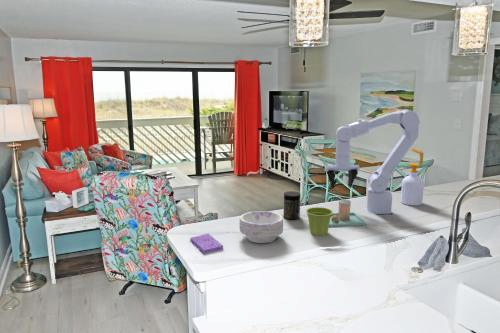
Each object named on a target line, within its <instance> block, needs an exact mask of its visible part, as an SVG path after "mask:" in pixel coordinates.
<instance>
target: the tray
mask: <svg viewBox="0 0 500 333" xmlns="http://www.w3.org/2000/svg"><path fill="white" fill-rule="evenodd" d="M334 215H337V216H338V212H333V214H332V215H331V218H332V216H334ZM331 218H330V223H329V227H330V228H331V227H332V228H333V227H347V226H348V227H351V226H352V227H353V226H366V225H367V222H366V221H365V220H364V219H363V218H362V217H361V216H360V215H358V214H357V213H356V212H355V211H354V212H353V211H350V220H347V221H343V220H340V221H339V223H333V222H332V220H331Z"/></svg>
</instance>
